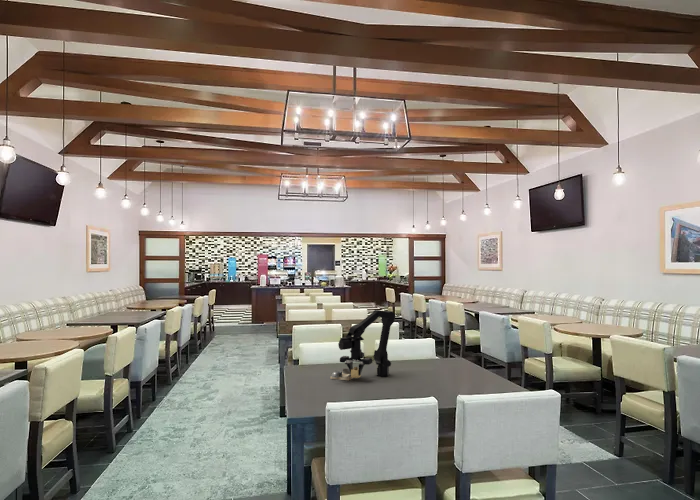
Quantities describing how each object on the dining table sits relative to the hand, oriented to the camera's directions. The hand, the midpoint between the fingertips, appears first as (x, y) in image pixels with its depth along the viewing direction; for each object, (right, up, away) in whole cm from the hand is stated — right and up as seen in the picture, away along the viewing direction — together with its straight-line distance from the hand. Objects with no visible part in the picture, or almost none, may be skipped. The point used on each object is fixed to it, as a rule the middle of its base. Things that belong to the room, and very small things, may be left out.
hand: (355, 374), depth 251 cm
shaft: (-12, -2, +3) cm, 12 cm away
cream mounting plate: (-7, -3, +7) cm, 11 cm away
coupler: (0, -1, 0) cm, 1 cm away
